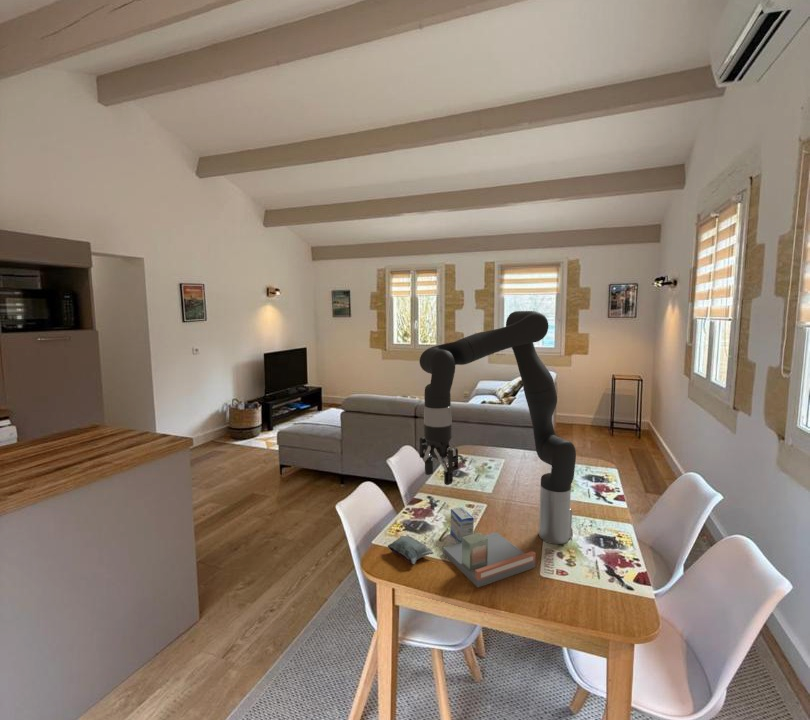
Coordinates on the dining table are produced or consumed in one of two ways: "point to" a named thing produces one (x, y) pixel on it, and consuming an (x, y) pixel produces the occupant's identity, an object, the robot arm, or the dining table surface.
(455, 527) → the medicine box
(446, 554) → the shelf
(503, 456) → the dining table surface
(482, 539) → the sage tin
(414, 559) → the grey bean bag
